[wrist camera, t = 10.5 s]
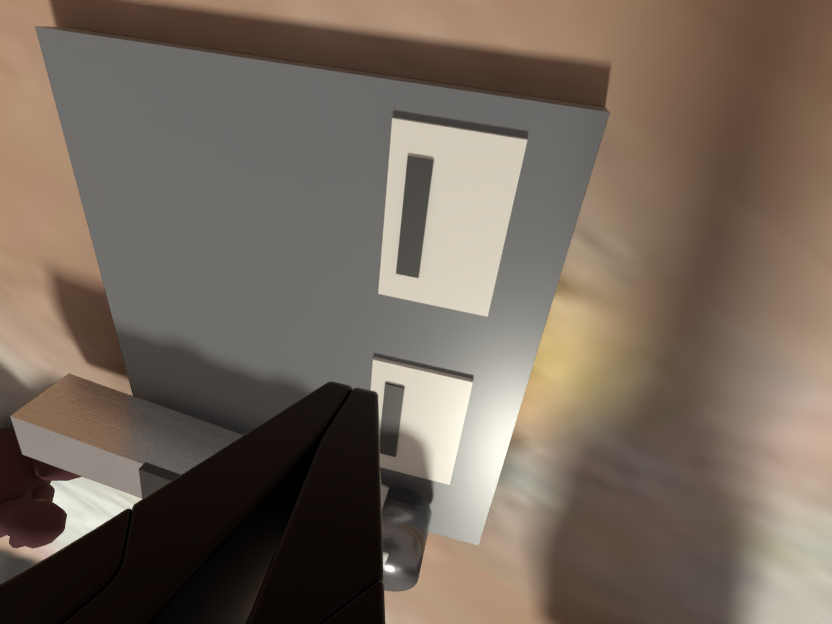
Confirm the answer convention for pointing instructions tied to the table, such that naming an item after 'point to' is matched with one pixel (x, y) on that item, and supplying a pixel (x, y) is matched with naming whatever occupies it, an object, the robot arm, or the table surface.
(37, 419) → the cable arm
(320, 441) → the robot arm
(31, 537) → the icecream
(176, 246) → the equipment panel
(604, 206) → the table surface
